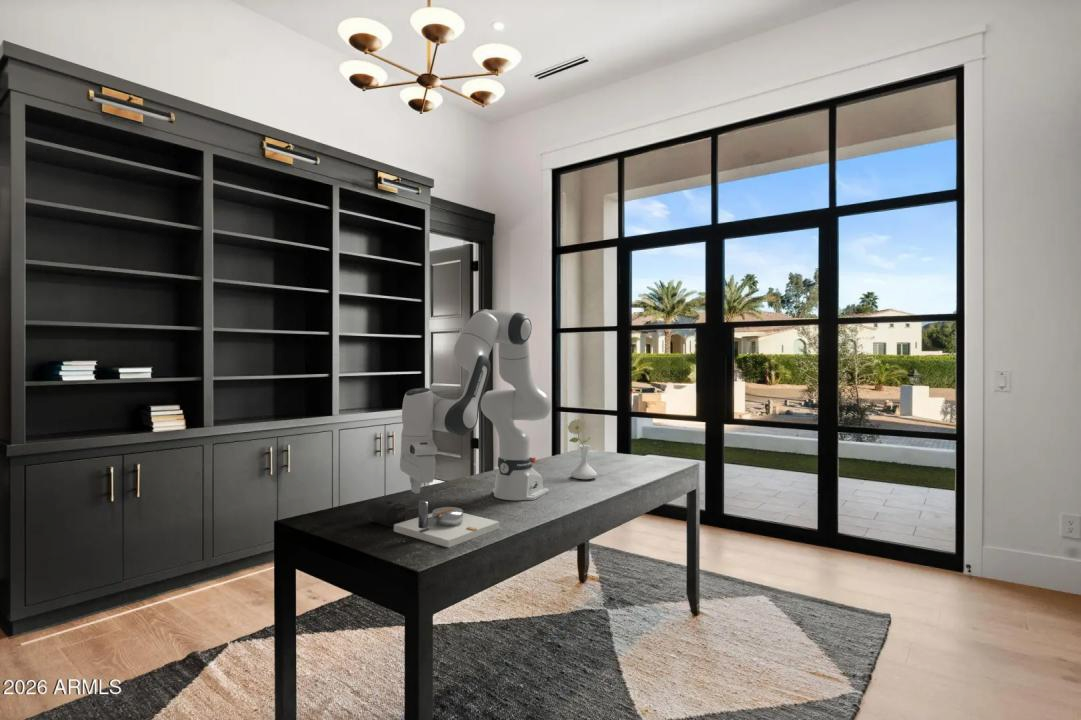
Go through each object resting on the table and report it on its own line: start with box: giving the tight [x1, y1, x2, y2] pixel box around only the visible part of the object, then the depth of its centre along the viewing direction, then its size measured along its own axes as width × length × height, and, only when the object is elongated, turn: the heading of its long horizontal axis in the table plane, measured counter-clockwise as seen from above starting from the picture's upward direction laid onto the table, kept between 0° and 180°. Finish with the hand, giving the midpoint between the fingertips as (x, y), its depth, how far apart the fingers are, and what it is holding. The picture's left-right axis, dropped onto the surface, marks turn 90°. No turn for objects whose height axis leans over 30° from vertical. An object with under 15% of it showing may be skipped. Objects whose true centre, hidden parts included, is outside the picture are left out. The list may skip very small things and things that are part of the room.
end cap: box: [366, 499, 406, 529], centre depth 181 cm, size 10×7×7 cm
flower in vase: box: [567, 418, 598, 480], centre depth 250 cm, size 13×11×25 cm
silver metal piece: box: [418, 500, 464, 528], centre depth 174 cm, size 16×9×8 cm, turn 145°
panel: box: [393, 512, 500, 549], centre depth 177 cm, size 22×22×2 cm
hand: (415, 492), depth 171 cm, fingers closed
